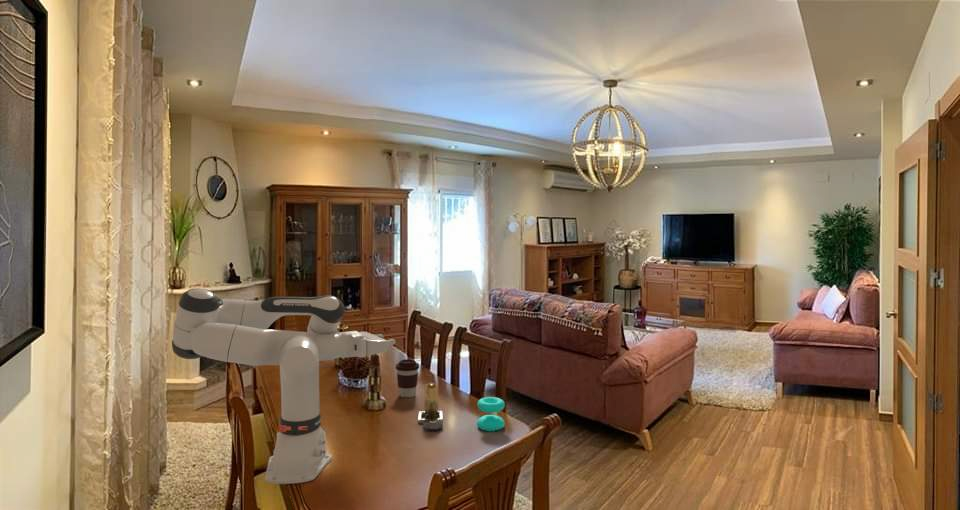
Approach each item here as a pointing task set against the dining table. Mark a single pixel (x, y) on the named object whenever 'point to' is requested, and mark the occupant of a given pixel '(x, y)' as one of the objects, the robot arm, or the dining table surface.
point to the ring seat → (422, 413)
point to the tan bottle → (431, 400)
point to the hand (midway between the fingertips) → (388, 339)
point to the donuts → (491, 407)
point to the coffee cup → (407, 377)
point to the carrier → (433, 425)
